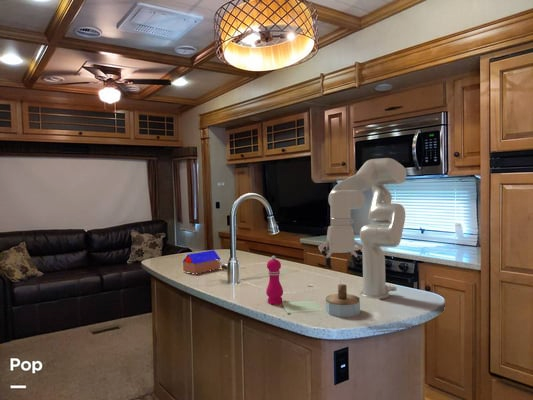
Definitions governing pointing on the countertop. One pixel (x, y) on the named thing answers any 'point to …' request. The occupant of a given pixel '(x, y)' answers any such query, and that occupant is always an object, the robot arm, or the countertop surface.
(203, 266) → the house
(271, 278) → the pepper mill
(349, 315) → the bowl
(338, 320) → the countertop surface
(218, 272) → the countertop surface
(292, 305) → the mat
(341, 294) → the lid
